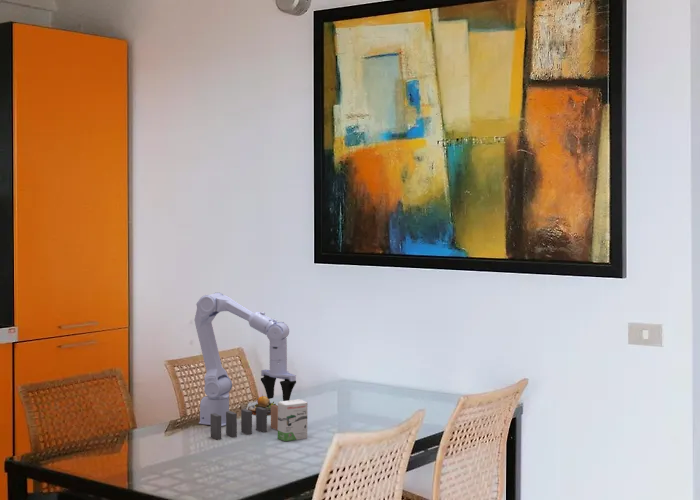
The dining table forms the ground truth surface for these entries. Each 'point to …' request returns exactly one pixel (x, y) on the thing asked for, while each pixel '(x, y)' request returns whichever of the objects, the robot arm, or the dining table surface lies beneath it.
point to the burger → (262, 405)
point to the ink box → (292, 420)
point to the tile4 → (231, 424)
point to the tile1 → (274, 417)
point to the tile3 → (246, 421)
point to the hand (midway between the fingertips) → (278, 400)
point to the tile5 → (216, 426)
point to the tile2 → (261, 419)
